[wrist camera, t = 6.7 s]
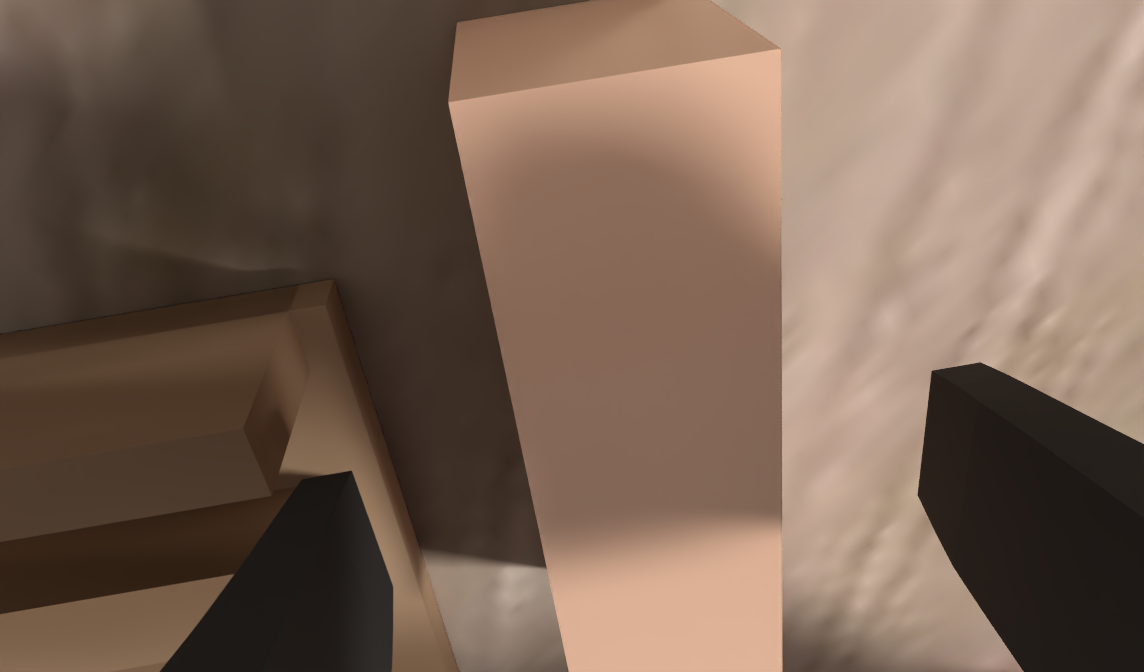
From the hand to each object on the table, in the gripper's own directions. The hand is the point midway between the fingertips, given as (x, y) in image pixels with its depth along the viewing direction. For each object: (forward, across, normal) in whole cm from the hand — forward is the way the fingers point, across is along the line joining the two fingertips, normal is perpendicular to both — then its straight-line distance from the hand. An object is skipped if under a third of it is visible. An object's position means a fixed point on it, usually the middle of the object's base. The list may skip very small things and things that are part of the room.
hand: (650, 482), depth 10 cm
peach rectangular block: (+4, 0, 0) cm, 4 cm away
